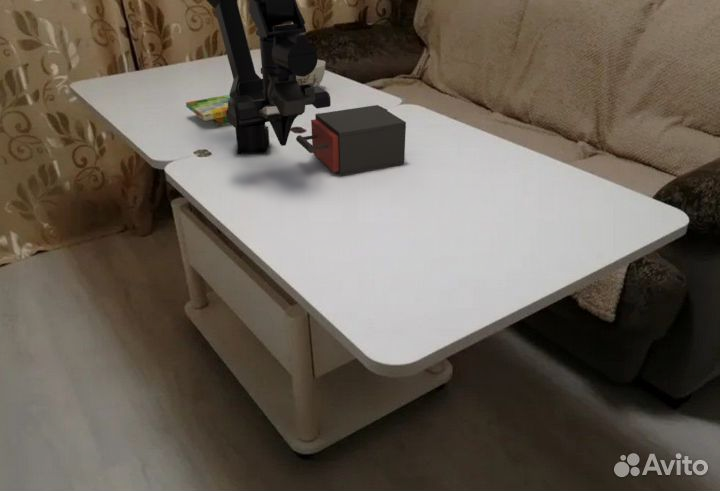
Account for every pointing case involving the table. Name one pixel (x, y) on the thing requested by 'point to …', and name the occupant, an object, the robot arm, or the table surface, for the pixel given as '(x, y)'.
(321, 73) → the teacup
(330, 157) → the red-fronted drawer
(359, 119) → the drawer cabinet casing
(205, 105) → the puzzle game
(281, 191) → the table surface
